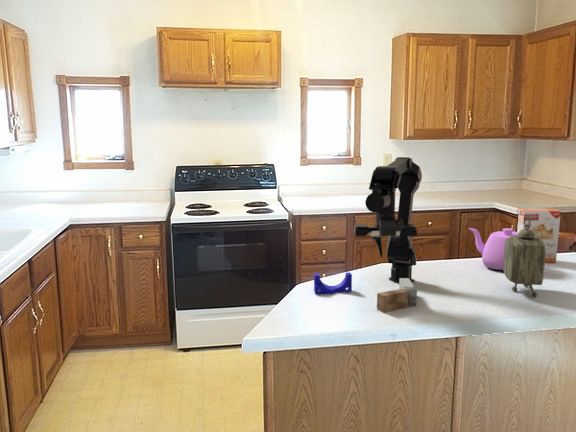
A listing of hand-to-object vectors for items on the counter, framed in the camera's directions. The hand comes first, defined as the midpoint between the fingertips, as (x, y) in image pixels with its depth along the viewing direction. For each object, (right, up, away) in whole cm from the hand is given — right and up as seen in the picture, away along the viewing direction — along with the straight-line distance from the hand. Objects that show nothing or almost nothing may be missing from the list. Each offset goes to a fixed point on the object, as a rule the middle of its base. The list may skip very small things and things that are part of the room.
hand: (384, 257), depth 161 cm
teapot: (+52, -7, +36) cm, 63 cm away
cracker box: (+68, -5, +44) cm, 81 cm away
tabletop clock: (+46, -12, +7) cm, 48 cm away
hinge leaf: (+7, -13, -1) cm, 15 cm away
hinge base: (+3, -14, -7) cm, 16 cm away
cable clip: (-15, -12, +8) cm, 21 cm away
